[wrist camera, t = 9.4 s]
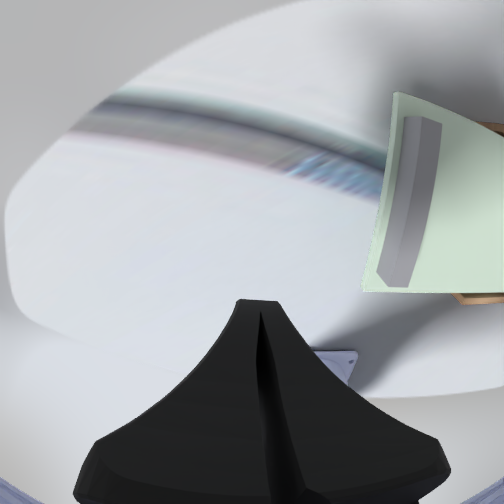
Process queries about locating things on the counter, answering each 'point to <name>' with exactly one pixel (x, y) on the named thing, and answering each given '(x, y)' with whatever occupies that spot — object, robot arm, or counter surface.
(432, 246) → the lid
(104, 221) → the counter surface
